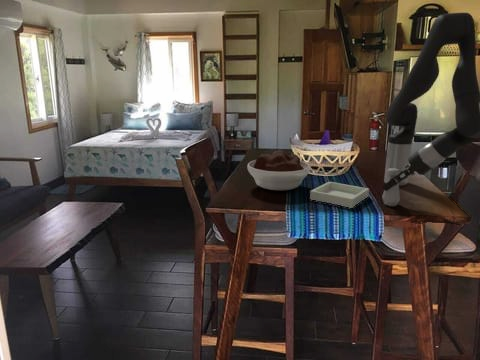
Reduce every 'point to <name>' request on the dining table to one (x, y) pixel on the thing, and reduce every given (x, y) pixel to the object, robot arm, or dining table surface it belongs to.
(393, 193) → the salt shaker
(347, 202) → the tray
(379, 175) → the dining table surface
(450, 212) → the dining table surface
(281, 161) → the white bowl of pudding
